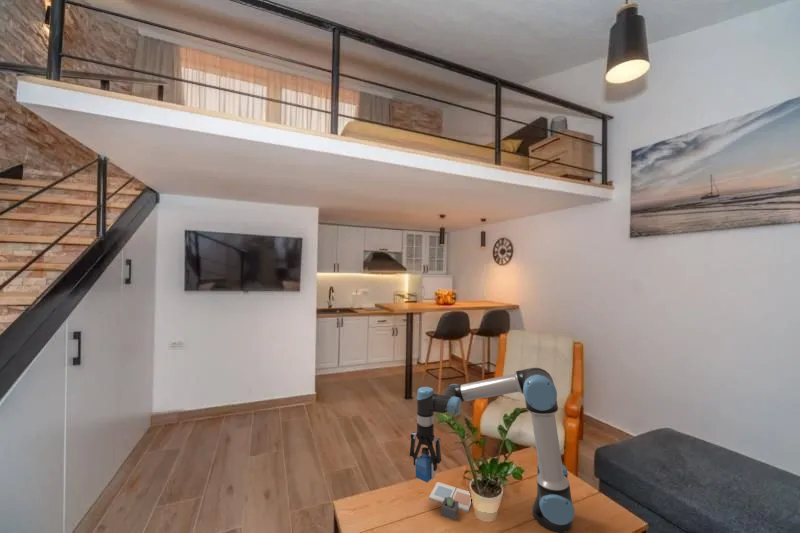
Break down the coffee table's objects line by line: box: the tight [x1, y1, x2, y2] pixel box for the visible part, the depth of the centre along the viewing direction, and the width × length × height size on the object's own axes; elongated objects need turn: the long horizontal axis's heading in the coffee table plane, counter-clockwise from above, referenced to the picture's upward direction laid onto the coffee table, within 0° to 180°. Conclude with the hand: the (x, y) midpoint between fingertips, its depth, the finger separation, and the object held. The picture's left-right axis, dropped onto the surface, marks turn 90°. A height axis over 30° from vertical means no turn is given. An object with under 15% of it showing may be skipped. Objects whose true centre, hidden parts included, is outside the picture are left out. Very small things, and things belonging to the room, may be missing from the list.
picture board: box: [428, 481, 472, 513], centre depth 146 cm, size 18×12×1 cm, turn 65°
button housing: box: [440, 497, 459, 521], centre depth 136 cm, size 6×6×4 cm
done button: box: [447, 497, 453, 508], centre depth 136 cm, size 3×3×4 cm
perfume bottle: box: [415, 446, 433, 483], centre depth 142 cm, size 6×6×12 cm
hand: (425, 474), depth 141 cm, fingers closed on perfume bottle, 7 cm apart
